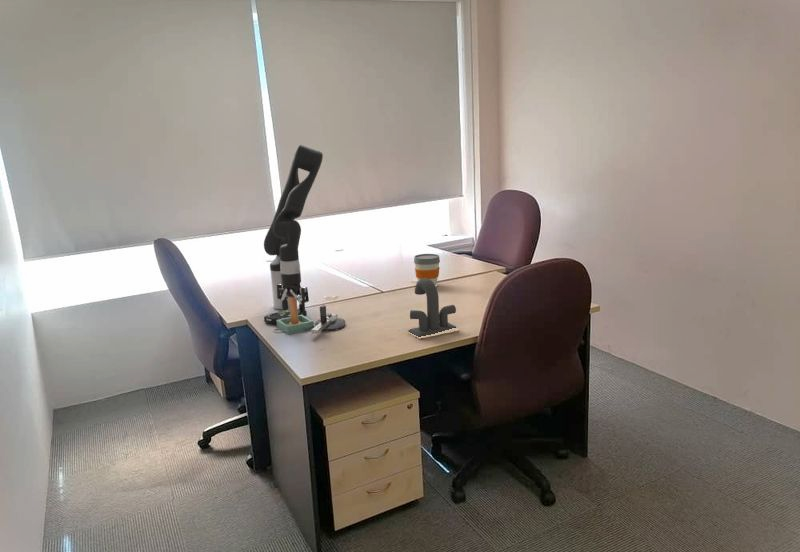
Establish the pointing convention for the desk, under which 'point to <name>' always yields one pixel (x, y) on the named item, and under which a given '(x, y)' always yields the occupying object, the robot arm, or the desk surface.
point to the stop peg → (293, 311)
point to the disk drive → (280, 316)
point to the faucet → (431, 311)
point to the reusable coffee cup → (427, 267)
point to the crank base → (333, 325)
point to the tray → (304, 325)
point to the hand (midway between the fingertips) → (293, 311)
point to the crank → (324, 320)
